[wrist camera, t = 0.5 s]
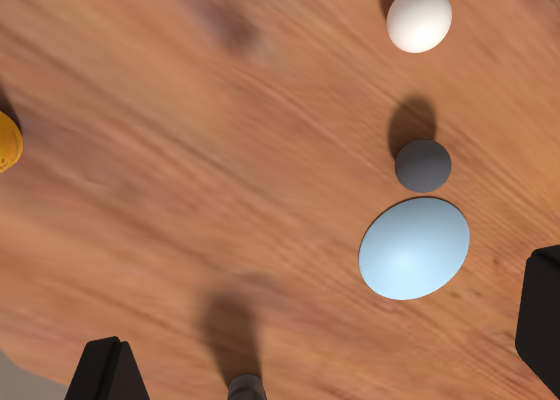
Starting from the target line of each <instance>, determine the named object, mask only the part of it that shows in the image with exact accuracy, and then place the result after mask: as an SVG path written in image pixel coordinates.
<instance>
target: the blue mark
mask: <svg viewBox="0 0 560 400" xmlns="http://www.w3.org/2000/svg"><path fill="white" fill-rule="evenodd" d="M469 240H470V236H469V228H468V225H467V222H466V220H465V218H464V217H463V215H462V214H461V213H460V211H459V210H458V209H456V208H455V207H454V206H453V205H451V204H449V203H448V202H445V201H443V200H439V199H435V198H417V199H411V200H408V201H404V202H402V203H400V204H397V205H395V206H394V207H392V208H390V209H389V210H387V211H386V212H384V213H383V214H382V215H381V216H380V217H379V218H377V220H376V221H375V222H374V223H373V224H372V225H371V227H370V228H369V229H368V231H367V233H366V234H365V236H364V238H363V241H362V243H361V247H360V251H359V267H360V271H361V274H362V277H363V278H364V280H365V282H366V283H367V284H368V286H369V287H370V288H371V289H372V290H374V291H375V292H376V293H378V294H380V295H382V296H384V297H387V298H391V299H399V300H406V299H414V298H418V297H421V296H424V295H427V294H429V293H431V292H433V291H435V290H437V289H438V288H440V287H441V286H443V285H444V284H445V283H447V282H448V281H449V280H450V279H451V278H452V277H453V276H454V275H455V274H456V272H457V271H458V270H459V268H460V267H461V265H462V263H463V261H464V259H465V257H466V255H467V252H468V248H469Z"/></svg>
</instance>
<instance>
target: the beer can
mask: <svg viewBox="0 0 560 400" xmlns="http://www.w3.org/2000/svg"><path fill="white" fill-rule="evenodd" d="M22 149H23V140H22V136H21V133H20V131H19V129H18V127H17V126H16V124H15V123H14V122H13V121H12V120H11V119H10V118H9V117H8V116H7V115H6V114H4V113H3V112H1V111H0V173H2V172H3V171H5V170H6V169H8V168H9V167H10V166H12V165H13V164H14V163H15V162H16V161H17V160H18V159H19V157H20V156H21V153H22Z"/></svg>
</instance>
